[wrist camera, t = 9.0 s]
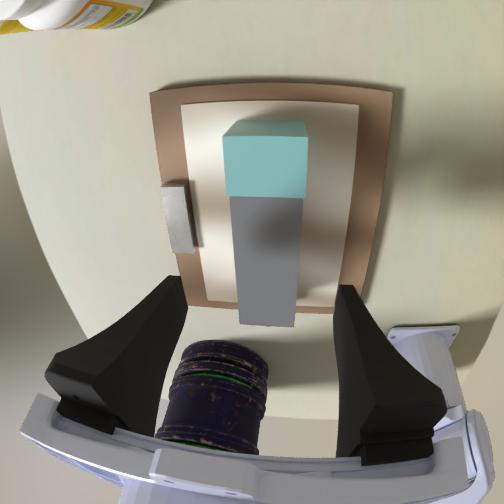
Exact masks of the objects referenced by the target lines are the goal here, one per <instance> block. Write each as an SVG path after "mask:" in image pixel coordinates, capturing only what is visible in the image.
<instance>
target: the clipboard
mask: <svg viewBox="0 0 504 504" xmlns="http://www.w3.org/2000/svg"><path fill="white" fill-rule="evenodd" d="M149 95H150V103H151V112H152V120H153V128H154V135H155V142H156V149H157V156H158V162H159V169H160V175H161V181H162V186H161V187H160V191H161V196H162V202H163V207H164V212H165V217H166V223H167V228H168V233H169V237H170V242H171V247H172V252H173V253H175V255H176V259H177V264H178V269H179V273H180V276H181V279H182V283H183V288H184V292H185V296H186V301H187V305H189V306H200V307H212V308H225V309H238V298H237V287H236V275H235V263H234V251H233V238H232V225H231V212H230V198H229V196H226V184H225V171H224V157H223V142H222V136H223V135H224V134H225V133H226V132H227V131H228V129H229V128H230V127H231V126H232V125H233V124H234V123H235V122H236V121H304V122H305V125H306V130H307V135H308V154H307V179H306V198H303V213H302V231H301V246H300V261H299V274H298V287H297V299H296V310H295V313H318V314H334V310H335V305H336V300H337V295H338V290H339V284H344V285H353V286H354V287H355V288H356V290H357V292H358V294H359V296H361V292H362V288H363V284H364V280H365V276H366V271H367V267H368V263H369V258H370V253H371V249H372V244H373V239H374V234H375V229H376V224H377V218H378V213H379V207H380V201H381V195H382V189H383V182H384V175H385V168H386V160H387V152H388V143H389V134H390V124H391V112H392V98H393V92H390V91H387V90H380V89H372V88H364V87H355V86H345V85H333V84H318V83H295V82H251V83H228V84H213V85H201V86H190V87H181V88H173V89H165V90H158V91H154V92H150V93H149Z"/></svg>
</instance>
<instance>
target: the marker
mask: <svg viewBox="0 0 504 504" xmlns="http://www.w3.org/2000/svg"><path fill="white" fill-rule="evenodd" d="M222 142H223V157H224V171H225V184H226V196H229V198H230V212H231V225H232V238H233V251H234V263H235V275H236V287H237V298H238V310H239V321H240V324H247V325H261V326H278V327H294V321H295V310H296V299H297V287H298V274H299V261H300V246H301V231H302V213H303V198H306V179H307V154H308V135H307V130H306V125H305V122H304V121H236V122H235V123H234V124H233V125H232V126H231V127H230V128H229V129H228V131H227V132H226V133H225V134H224V135H223V136H222Z"/></svg>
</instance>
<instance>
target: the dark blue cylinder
mask: <svg viewBox="0 0 504 504" xmlns="http://www.w3.org/2000/svg"><path fill="white" fill-rule="evenodd" d="M267 378H268V366H267V364H266V362H265V361H264V359H263V358H262V357H261V356H260V355H258V354H257V353H255V352H254V351H252V350H250V349H249V348H247V347H244V346H242V345H239V344H235V343H232V342H227V341H220V340H205V341H199V342H196V343H193V344H191V345H189V346H188V347H187V348H186V349H185V350H184V352H183V354H182V358H181V362H180V364H179V366H178V368H177V370H176V372H175V375H174V378H173V381H172V385H171V386H170V389H169V400H170V402H169V405H168V409H167V411H166V415H165V418H164V421H163V424H162V427H160V428H159V429H158V431H157V433H156V434H155V438H157V439H161V440H165V441H170V442H174V443H179V444H184V445H189V446H194V447H200V448H205V449H212V450H218V451H225V452H233V453H241V454H250V455H259V450H258V449H257V442H258V434H259V427H260V421H261V420H262V419H263V417H264V413H265V411H266V407H265V403H266V399H267Z"/></svg>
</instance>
